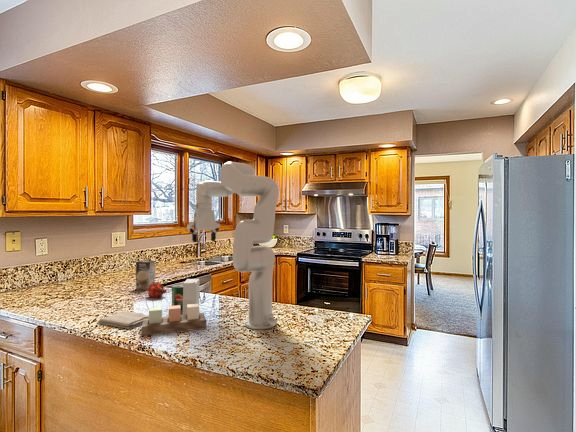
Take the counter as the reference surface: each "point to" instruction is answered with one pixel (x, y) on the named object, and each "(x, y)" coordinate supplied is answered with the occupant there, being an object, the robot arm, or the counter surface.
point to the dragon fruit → (156, 290)
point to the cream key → (192, 311)
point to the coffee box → (145, 274)
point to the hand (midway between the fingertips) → (204, 241)
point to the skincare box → (190, 293)
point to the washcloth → (124, 319)
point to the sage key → (155, 315)
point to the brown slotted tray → (173, 325)
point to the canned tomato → (177, 295)
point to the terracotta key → (174, 313)
